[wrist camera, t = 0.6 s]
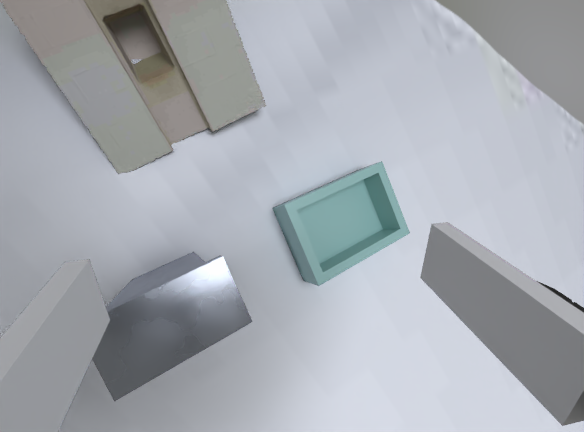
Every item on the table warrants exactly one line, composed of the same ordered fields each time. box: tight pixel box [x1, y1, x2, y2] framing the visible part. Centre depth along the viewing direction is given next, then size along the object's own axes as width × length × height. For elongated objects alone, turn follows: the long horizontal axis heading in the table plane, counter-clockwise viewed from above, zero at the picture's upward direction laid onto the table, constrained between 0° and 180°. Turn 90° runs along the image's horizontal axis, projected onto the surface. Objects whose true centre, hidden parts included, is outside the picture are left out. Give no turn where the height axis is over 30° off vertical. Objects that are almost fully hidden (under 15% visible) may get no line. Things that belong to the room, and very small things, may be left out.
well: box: [273, 161, 410, 286], centre depth 35 cm, size 9×13×4 cm
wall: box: [0, 0, 266, 174], centre depth 28 cm, size 16×9×15 cm
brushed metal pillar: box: [92, 252, 252, 401], centre depth 24 cm, size 4×8×14 cm, turn 114°
